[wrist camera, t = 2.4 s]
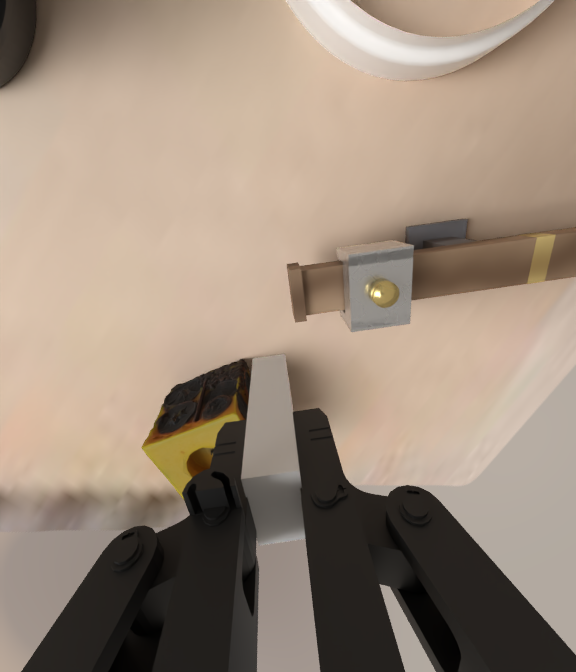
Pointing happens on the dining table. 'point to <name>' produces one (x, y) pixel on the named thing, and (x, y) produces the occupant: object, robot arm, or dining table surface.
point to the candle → (197, 421)
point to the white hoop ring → (399, 40)
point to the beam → (447, 265)
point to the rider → (377, 284)
